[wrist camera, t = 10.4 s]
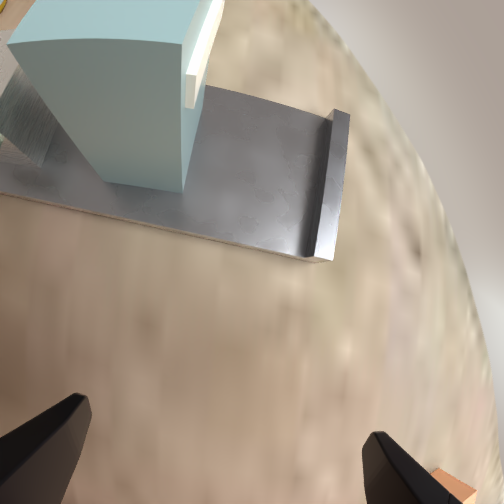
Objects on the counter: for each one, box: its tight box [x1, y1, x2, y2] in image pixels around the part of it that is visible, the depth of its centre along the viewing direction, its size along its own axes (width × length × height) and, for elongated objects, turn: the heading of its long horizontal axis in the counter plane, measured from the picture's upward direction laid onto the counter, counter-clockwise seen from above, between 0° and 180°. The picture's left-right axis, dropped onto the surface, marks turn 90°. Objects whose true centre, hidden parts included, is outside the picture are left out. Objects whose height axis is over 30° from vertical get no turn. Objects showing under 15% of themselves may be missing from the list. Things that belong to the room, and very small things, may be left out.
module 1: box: [6, 0, 225, 194], centre depth 12 cm, size 6×5×13 cm
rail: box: [0, 29, 350, 263], centre depth 16 cm, size 26×10×8 cm, turn 78°
